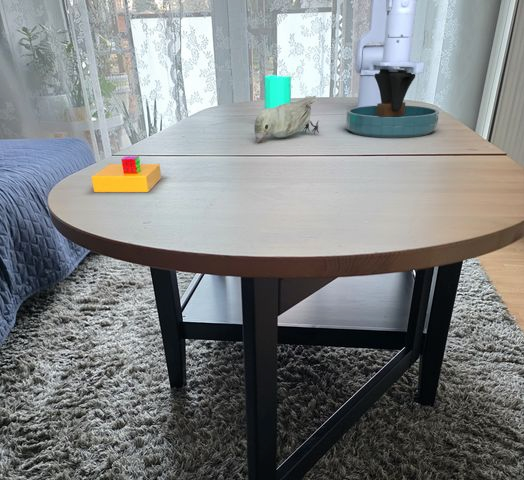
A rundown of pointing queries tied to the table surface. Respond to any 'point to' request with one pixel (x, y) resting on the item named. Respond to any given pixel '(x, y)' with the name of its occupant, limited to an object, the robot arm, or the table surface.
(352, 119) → the bowl
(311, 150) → the table surface
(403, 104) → the brown block
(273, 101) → the candle
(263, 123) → the decorative bird
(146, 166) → the yellow slab
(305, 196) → the table surface
